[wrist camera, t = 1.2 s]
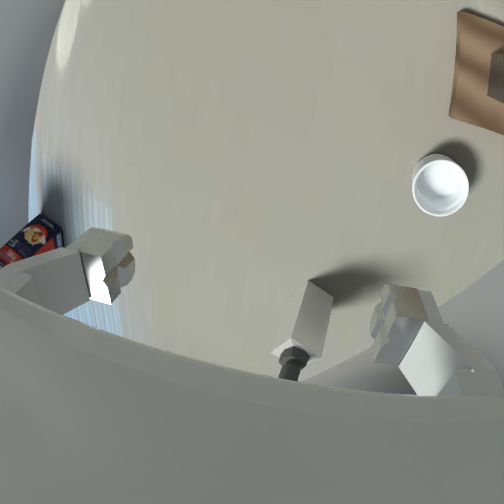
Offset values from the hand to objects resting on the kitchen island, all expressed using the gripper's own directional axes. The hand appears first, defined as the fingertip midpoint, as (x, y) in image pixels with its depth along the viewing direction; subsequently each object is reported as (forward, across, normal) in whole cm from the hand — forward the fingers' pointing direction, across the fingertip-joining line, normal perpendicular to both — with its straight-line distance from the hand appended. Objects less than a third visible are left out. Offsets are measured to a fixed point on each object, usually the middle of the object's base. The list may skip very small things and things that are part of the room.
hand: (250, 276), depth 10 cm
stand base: (+34, -27, -15) cm, 46 cm away
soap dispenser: (+44, -8, +34) cm, 56 cm away
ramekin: (+38, -21, +3) cm, 43 cm away
